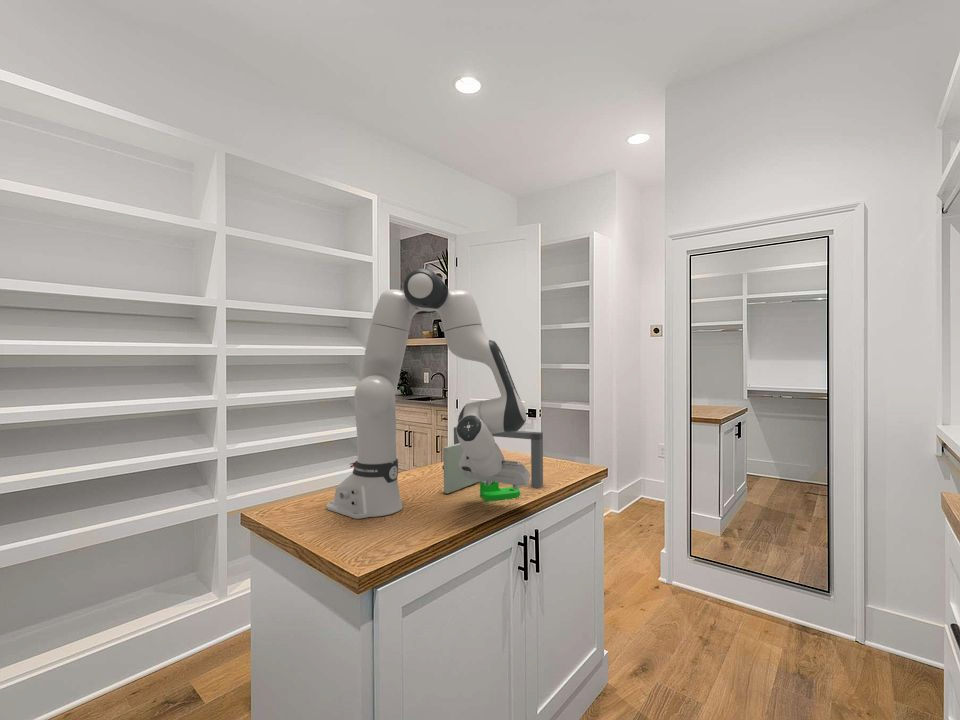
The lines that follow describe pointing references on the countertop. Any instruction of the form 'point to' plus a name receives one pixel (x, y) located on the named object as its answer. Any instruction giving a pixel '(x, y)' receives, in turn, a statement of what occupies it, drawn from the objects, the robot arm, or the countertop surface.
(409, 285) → the robot arm
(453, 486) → the door
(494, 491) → the mechanical part
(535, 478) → the wall frame
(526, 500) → the countertop surface
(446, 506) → the countertop surface
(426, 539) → the countertop surface
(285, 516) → the countertop surface
